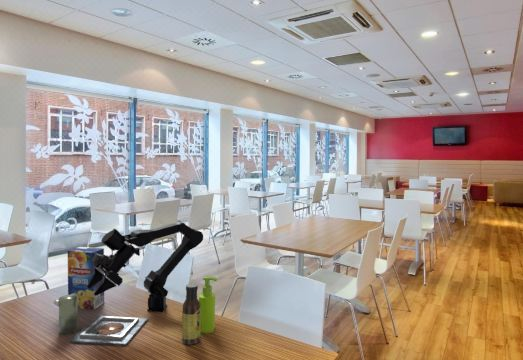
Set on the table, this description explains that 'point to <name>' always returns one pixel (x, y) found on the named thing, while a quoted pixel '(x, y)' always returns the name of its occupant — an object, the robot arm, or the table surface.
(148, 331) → the table surface
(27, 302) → the table surface
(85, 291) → the juice carton
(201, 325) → the soap dispenser
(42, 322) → the table surface
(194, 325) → the sauce bottle
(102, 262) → the robot arm
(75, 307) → the spout can
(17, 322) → the table surface
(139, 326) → the port plate
